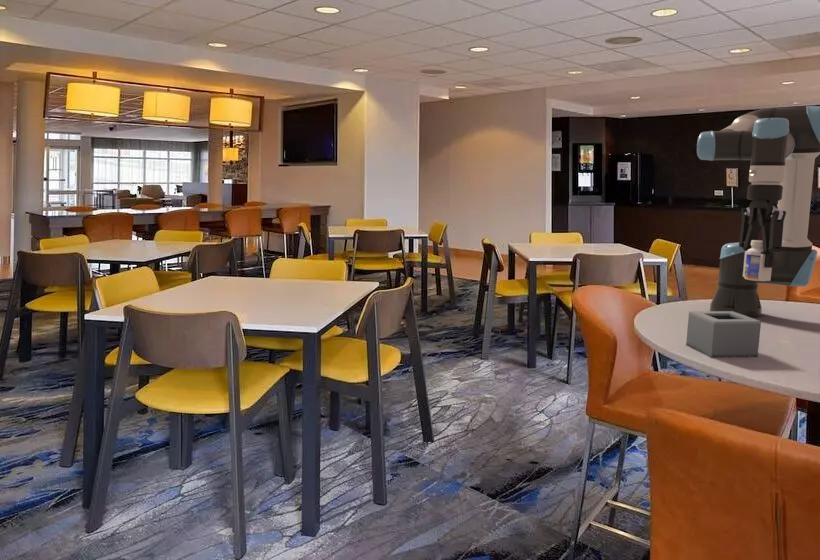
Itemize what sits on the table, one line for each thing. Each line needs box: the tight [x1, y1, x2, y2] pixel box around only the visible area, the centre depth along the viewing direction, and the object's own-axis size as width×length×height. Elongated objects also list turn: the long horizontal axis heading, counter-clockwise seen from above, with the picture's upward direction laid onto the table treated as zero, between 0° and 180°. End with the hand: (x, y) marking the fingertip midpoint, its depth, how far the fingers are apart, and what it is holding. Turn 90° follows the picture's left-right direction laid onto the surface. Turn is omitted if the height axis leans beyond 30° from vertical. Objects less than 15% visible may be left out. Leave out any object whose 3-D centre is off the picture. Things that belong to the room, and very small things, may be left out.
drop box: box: [685, 310, 762, 359], centre depth 167 cm, size 12×12×9 cm
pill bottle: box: [744, 239, 763, 281], centre depth 163 cm, size 5×5×10 cm
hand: (756, 278), depth 163 cm, fingers closed on pill bottle, 5 cm apart
